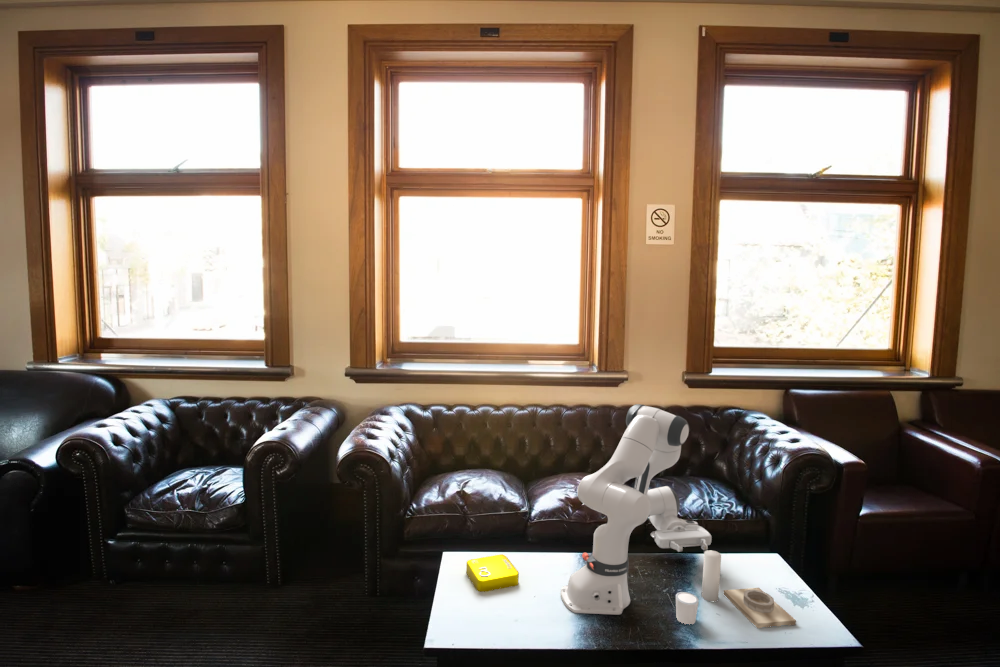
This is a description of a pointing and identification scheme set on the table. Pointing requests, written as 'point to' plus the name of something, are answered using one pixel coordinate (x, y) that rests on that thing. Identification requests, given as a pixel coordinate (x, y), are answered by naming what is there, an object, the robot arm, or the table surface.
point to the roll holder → (759, 607)
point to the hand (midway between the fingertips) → (693, 548)
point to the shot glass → (686, 607)
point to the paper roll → (711, 575)
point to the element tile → (492, 573)
